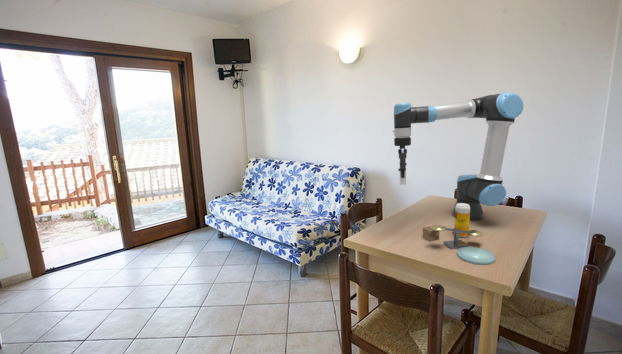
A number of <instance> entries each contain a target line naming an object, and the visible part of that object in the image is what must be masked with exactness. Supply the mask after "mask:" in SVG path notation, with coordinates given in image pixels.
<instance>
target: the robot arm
mask: <svg viewBox="0 0 622 354" xmlns="http://www.w3.org/2000/svg"><path fill="white" fill-rule="evenodd" d="M523 110H524V102H523V99H522V97H520V95H519V94H517V93H515V92H501V93H495V94H488V95H484V96H480V97H476V98H470V99H467V100H466V101H461V102H453V103H445V104H442V103H441V104H434V105H426V106H425V105H424V106H414V107H413V106H412V103H410V102H404V103H396V104H395V105H394V107H393V129H394V130H392V132H393V134H394V135H393V136H394V139H393V143H394V146H395V147H399V149H398V150H397V152H398V154H397V155H398V159H399V168H398V170H397V171H398V172H399V185H403V186H404V185H407V164H408V163H407V162H406V159H407V154H408V149H407V148H406V146H407V147H408V146H411V145H412V137H411V136H412V124H425V123H426V124H429V123H433V122H435V121H440V120H441V121H442V120H449V119H457V118H466V119H485V123H486V124H487V127H488V128H487V134H486V138H485V143H484V149H483V154H482V159H481V164H480V165H481V166H480V172H479V173H478V174H461V175H458V176H457V180H456V201H455V203H454V207H453V209H452V213H451V214H452V216H453V217H455V206H456V204H458V203H466V204H469V206H470V221H474V220H477V221H478V220H482V219H483V218H484V210H483V208H482V205H484V206H487V207H495V206H499V204H501V203H502V202H503V201H504V200H505V198H506V197H507V190H506V188H505V186H504V185H503V182H504V180H503V178H502V177H501V172H502V167H503V161H504V157H505V153H506V152H505V150H506V147H507V141H508V135H509V132H510V127H511V126H512V125H513V124H515V120H516V118H518V117H519V116H520V115H521V114H522V113H523Z"/></svg>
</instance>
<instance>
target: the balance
mask: <svg viewBox="0 0 622 354" xmlns="http://www.w3.org/2000/svg"><path fill="white" fill-rule="evenodd" d="M430 226H431V229H432V230H434V231H439V232H445V231H447V232H452V234H453V240H443V245H445V246H446V247H447V248H448V249H449V250H456V249H457V250H458V249H460V248H463V247H470V246H469V244H468V243H466V242H465V241H463V240H462V239H459V237H458V236H459V232H461V233H467V234H468V236H471V237H475V238H476V237H482V236H483V234H484V233H483V231H480V230H477V229H469V230H468V231H464V230H458V229H455V228H454V227H453V228H449V227H446V226H444V225H441V224H433V225H430Z"/></svg>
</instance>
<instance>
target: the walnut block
mask: <svg viewBox="0 0 622 354" xmlns="http://www.w3.org/2000/svg"><path fill="white" fill-rule="evenodd" d="M431 226H432V225H430V226H424V227H422V238H423V239H424V240H427V241H429V242H433V241H439V240H440V231H434V230H432V229H431Z"/></svg>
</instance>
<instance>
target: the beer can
mask: <svg viewBox="0 0 622 354" xmlns="http://www.w3.org/2000/svg"><path fill="white" fill-rule="evenodd" d="M455 204H456V203H455ZM454 206H455V205H454ZM470 221H471V220H470V206H469V204H466V203H458V204H456V206H455V216H454V226H453V228H455V229H458V230H464V231H468V230H470ZM467 237H469V235H468V234H467V233H461V232H459V236H458V238H463V239H465V238H467Z"/></svg>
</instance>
